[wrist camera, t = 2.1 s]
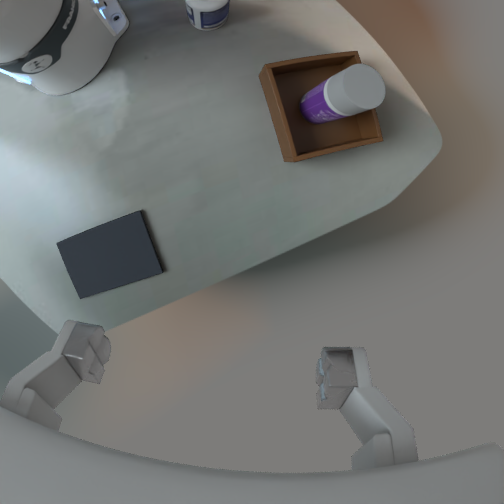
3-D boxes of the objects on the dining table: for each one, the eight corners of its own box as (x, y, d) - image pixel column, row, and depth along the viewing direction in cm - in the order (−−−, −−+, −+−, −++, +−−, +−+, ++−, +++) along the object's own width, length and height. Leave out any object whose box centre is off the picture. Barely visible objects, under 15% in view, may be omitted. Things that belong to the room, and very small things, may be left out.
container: (302, 126, 39) (347, 112, 25) (295, 93, 38) (336, 62, 24) (335, 122, 40) (391, 109, 25) (328, 89, 38) (380, 62, 24)
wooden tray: (258, 75, 37) (264, 64, 32) (341, 61, 37) (357, 50, 32) (284, 161, 41) (294, 162, 36) (365, 142, 41) (383, 141, 36)
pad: (57, 242, 40) (56, 243, 40) (140, 210, 40) (139, 210, 40) (81, 297, 43) (80, 299, 42) (163, 271, 43) (162, 272, 43)
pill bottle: (235, 8, 34) (241, -27, 24) (217, 36, 35) (218, 5, 26) (199, -5, 33) (197, -40, 23) (181, 24, 34) (173, -9, 24)
